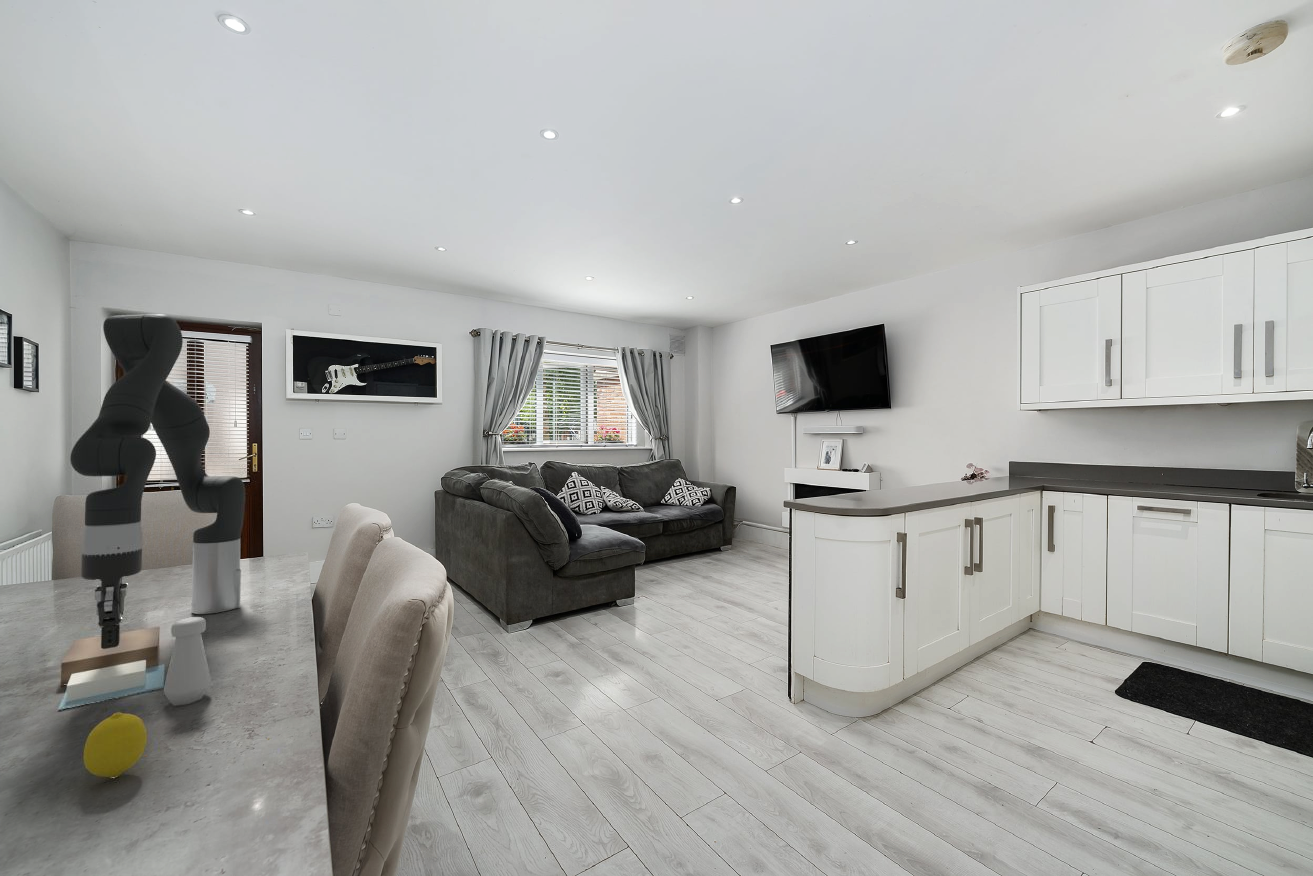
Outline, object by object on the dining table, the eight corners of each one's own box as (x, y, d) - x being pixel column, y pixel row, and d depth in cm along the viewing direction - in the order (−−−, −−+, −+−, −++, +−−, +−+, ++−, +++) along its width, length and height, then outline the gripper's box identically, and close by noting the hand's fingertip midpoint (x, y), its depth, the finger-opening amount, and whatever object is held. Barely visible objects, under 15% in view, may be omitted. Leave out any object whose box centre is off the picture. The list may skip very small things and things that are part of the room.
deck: (159, 646, 109) (159, 626, 109) (157, 667, 99) (157, 645, 99) (72, 661, 101) (73, 640, 101) (60, 686, 91) (61, 663, 91)
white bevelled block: (144, 670, 91) (144, 685, 91) (146, 659, 95) (145, 673, 95) (66, 686, 85) (66, 702, 85) (71, 674, 89) (71, 689, 89)
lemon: (111, 765, 69) (113, 703, 69) (157, 763, 69) (159, 701, 69) (68, 793, 63) (69, 725, 63) (118, 791, 64) (120, 724, 64)
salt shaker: (219, 694, 88) (220, 616, 89) (178, 711, 83) (180, 627, 83) (195, 689, 90) (197, 612, 90) (154, 704, 85) (156, 622, 85)
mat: (164, 666, 99) (164, 664, 99) (163, 688, 91) (163, 686, 91) (69, 685, 91) (69, 683, 91) (57, 711, 83) (57, 709, 83)
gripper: (140, 551, 92) (137, 652, 92) (143, 541, 102) (141, 632, 102) (76, 557, 87) (73, 663, 87) (86, 546, 97) (84, 641, 97)
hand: (110, 646), depth 95 cm, fingers closed
